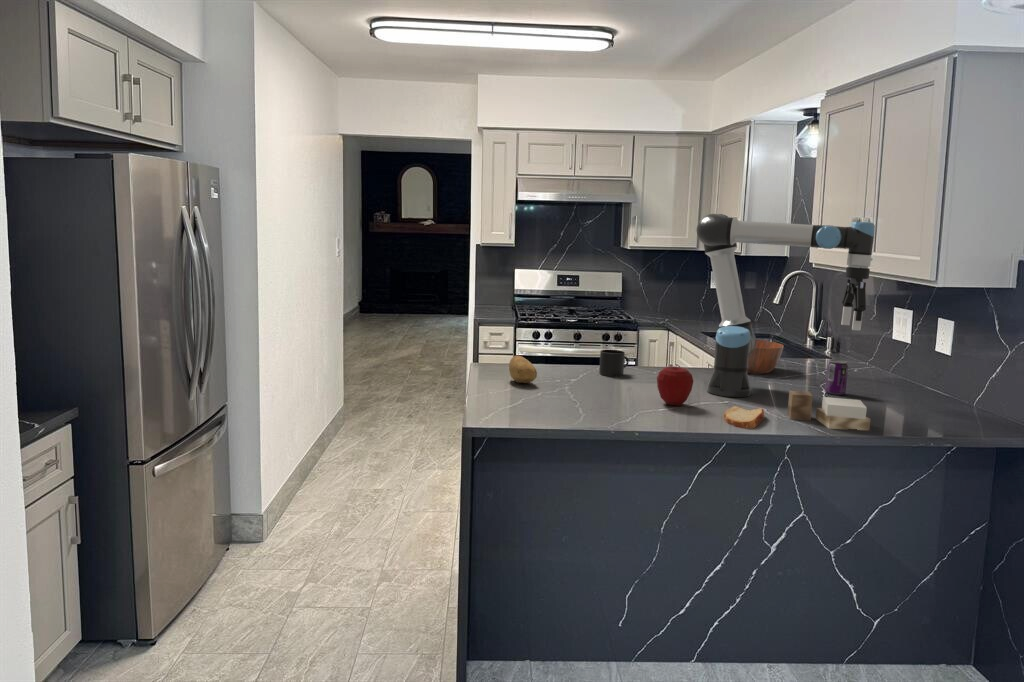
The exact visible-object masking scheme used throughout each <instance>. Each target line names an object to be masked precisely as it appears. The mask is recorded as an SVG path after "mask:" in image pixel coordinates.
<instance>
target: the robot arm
mask: <svg viewBox="0 0 1024 682" xmlns="http://www.w3.org/2000/svg"><path fill="white" fill-rule="evenodd" d="M875 228H876V225H875V223H873V222H870V221H867V222H866V221H852V223H851V225H850V226H838V225H837V226H835V225H827V224H826V225H823V224H822V225H821V224H819V225H818V224H804V223H803V224H802V223H789V222H788V223H787V222H783V223H782V222H770V221H769V222H768V221H767V222H765V221H749V220H738V219H737V218H736V217H729V216H728V215H726V214H723V213H710V214H707V215H704V216H703V217H702V218H701V219H700V220H699V221H698V223H697V225H696V236H697V238H698V240H699V241H700V242H701V243H702V245H703V249H704V254H705V255H707V256H708V257H709V258H710V263H711V264H710V265H711V268H712V275H713V279H714V284H715V290H716V296H717V301H718V307H719V312H720V317H721V322H720V323H719V325H718V329H717V330H716V334H715V349H714V359H713V361H714V362H713V372H712V374H711V376H710V377H709V378H710V379H708V380H709V381H708V382H707V386H706V388H707V389H706V392H707V393H710V394H712V395H716V396H719V397H721V396H722V397H727V398H745V397H750V396H751V393H752V392H751V391H752V388H751V383H750V380H749V379H750V378H749V376H748V373H747V369H748V357H749V355H750V354H751V353H752V352H753V350H754V349H755V346H756V340H757V338H756V334H755V332H754V330H753V327H752V322H751V319H750V318H748V317H747V315H746V313H745V312H746V311H745V307H744V301H743V295H742V291H741V285H740V280H739V279H740V278H739V274H738V268H737V264H736V258H735V251H736V250H737V248H738V246H737V243H740V244H756V245H768V246H769V245H772V246H773V245H774V246H785V247H786V246H788V247H789V246H790V247H801V248H802V247H803V248H805V247H807V248H815V249H816V248H817V249H819V248H820V249H826V250H830V249H845V250H846V249H847V250H848V251H847V257H846V265H847V266H846V268H845V277H846V278H847V280H846V286H845V290H844V293H843V297H842V301H841V304H842V307H843V308H842V315H841V323H840V325H842V326H850V324H851V317H852V311H853V318H852V325H851V331H858V332H859V331H860V332H861V330H862V329H861V328H862V322H863V316H864V311H866V309H867V304H866V302H867V301H866V300H867V299H866V287H867V286H866V285H867V282H865V281H863V280H868V279H869V278H870V271H871V270H870V268H869V267H870V266H871V262H872V261H873V260H874V259H873V257H872V254H873V247H874V241H875V240H874V239H875ZM853 302H854V304H853Z"/></svg>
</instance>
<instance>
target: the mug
mask: <svg viewBox="0 0 1024 682" xmlns="http://www.w3.org/2000/svg"><path fill="white" fill-rule="evenodd" d="M599 352H600V354H599V370H598V373H599V374H600V375H601V376H606V377H621V376H624V372H625V371H624V369H625V368H627V367H628V365H629V358H628V357H626V356H625V351H623V350H618V349H601V350H600V351H599ZM625 361H626V362H625Z"/></svg>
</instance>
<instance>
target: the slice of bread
mask: <svg viewBox="0 0 1024 682" xmlns="http://www.w3.org/2000/svg"><path fill="white" fill-rule="evenodd" d="M723 419H724V420H723V421H724V422H725V423H726V424H727V425H730V426H731V427H732V426H733V427H735V428H738V429H739V428H740V429H745V430H753V429H754V428H757V427H758V426H759V425H760V424H761V423H762V421H763V420H764V419H765V412H764V410H763V408H762V407H760V408H756V409H755V408H754V409H750V410H749V409H745V408H743V407H740V406H738V405H734V406H731V407H729V408H727V409H726V410H725V412H724V414H723Z"/></svg>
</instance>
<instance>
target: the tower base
mask: <svg viewBox="0 0 1024 682" xmlns="http://www.w3.org/2000/svg"><path fill="white" fill-rule="evenodd" d="M815 420H816V421H818V422H819V423H821V425H824V426H825V427H826V428H827V429H829V430H848V429H857V430H856V431H870V428H871V418H869V417H868V416H866V419H858V418H847V417H836V416H827V415H826V414H825V412H824V411H823V409H822V407H821V408H820V407H816V410H815Z"/></svg>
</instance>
